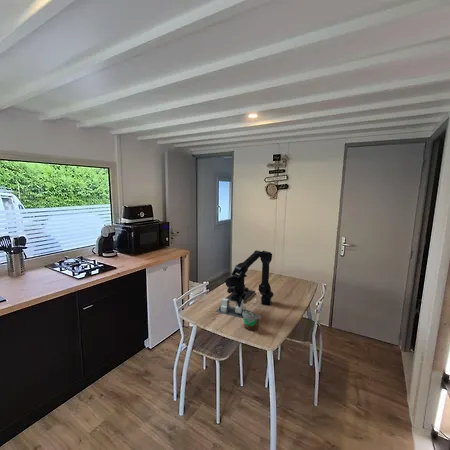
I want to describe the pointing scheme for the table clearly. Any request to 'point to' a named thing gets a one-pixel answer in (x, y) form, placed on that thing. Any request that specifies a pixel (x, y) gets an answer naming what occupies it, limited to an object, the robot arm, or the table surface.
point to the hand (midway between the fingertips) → (240, 305)
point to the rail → (231, 312)
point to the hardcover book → (245, 297)
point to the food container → (250, 320)
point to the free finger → (239, 309)
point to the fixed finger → (225, 304)
